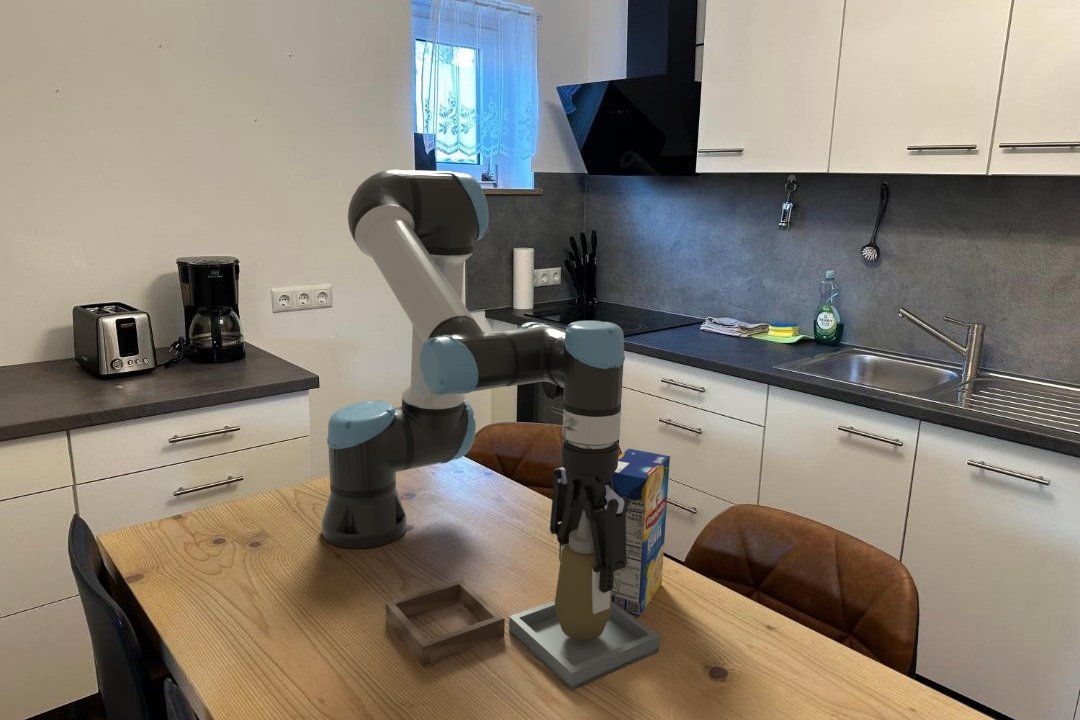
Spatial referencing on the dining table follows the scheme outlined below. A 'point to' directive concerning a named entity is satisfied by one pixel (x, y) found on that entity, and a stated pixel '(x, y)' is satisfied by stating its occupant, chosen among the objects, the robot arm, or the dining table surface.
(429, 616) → the dining table surface
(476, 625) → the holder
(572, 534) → the squeeze bottle
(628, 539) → the beverage box
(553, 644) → the tray
